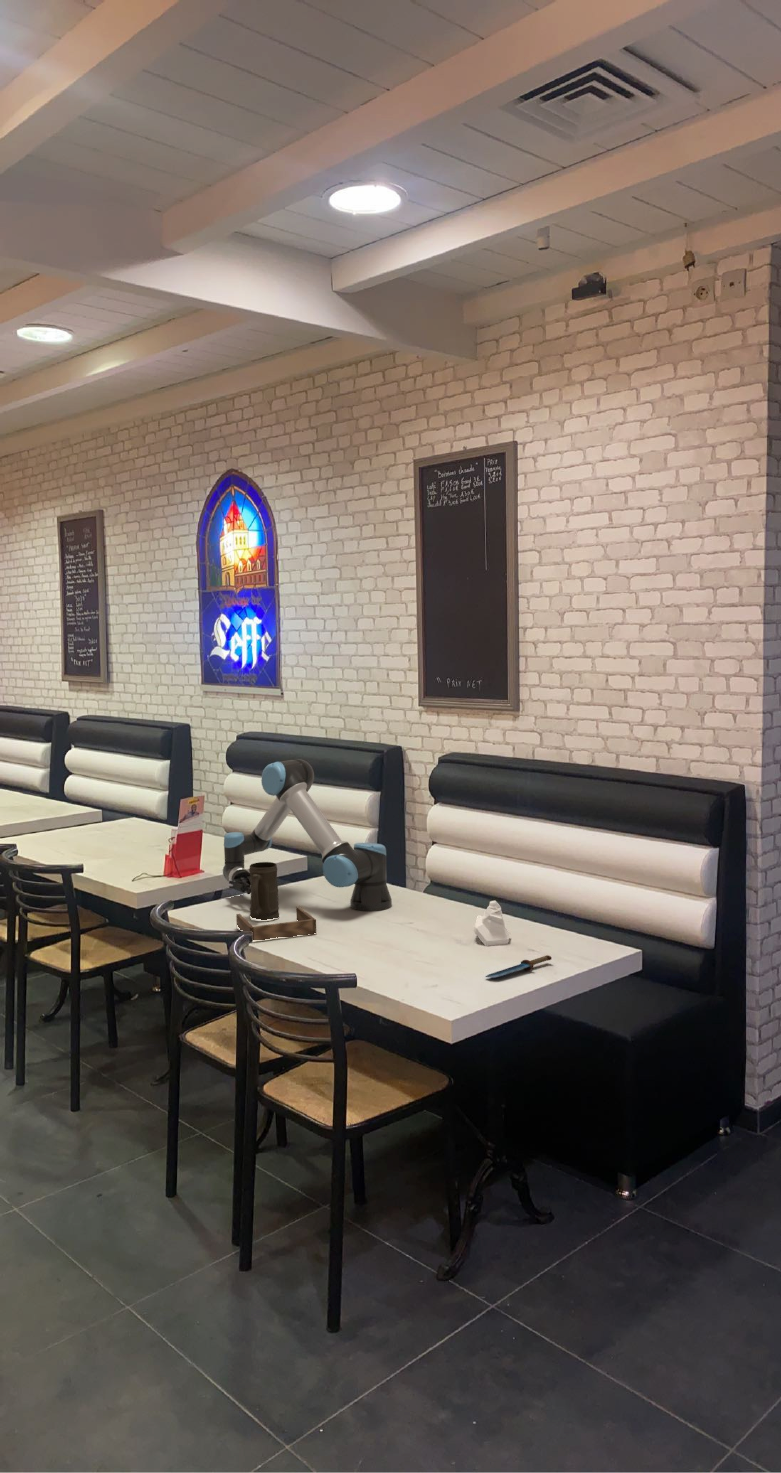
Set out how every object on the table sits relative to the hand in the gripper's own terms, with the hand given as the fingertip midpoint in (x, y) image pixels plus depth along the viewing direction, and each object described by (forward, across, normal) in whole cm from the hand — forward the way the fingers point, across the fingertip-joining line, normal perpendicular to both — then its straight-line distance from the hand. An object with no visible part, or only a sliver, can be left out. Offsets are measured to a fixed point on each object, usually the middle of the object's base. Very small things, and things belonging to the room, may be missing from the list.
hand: (257, 892), depth 369 cm
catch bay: (+24, 0, -8) cm, 25 cm away
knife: (+95, -53, -8) cm, 109 cm away
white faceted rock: (+63, -61, -8) cm, 88 cm away
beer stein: (+8, 0, -8) cm, 11 cm away
